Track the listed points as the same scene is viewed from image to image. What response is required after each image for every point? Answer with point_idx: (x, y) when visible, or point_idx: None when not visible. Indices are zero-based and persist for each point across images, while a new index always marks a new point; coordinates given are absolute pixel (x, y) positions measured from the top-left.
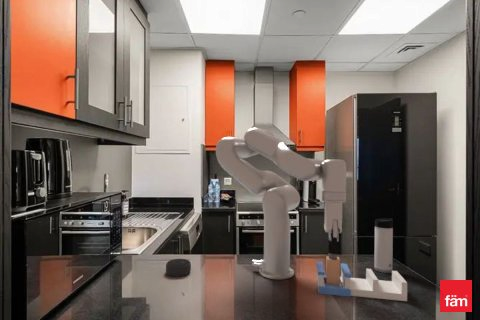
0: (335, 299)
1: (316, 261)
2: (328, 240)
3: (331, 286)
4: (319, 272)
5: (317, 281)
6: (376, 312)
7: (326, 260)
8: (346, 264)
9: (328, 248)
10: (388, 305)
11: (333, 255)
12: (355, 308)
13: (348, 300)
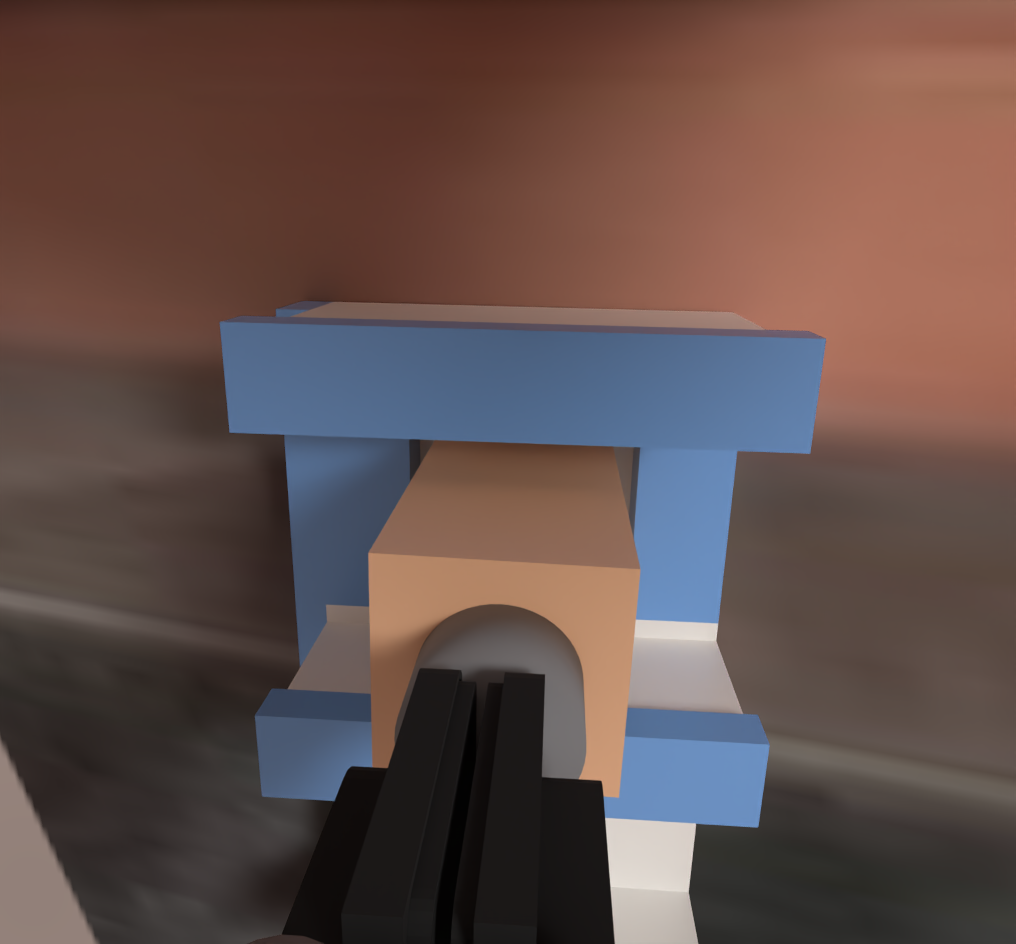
0: (203, 473)
1: (810, 339)
2: (473, 914)
3: (337, 475)
4: (228, 347)
5: (583, 312)
6: (63, 771)
7: (511, 538)
8: (717, 819)
9: (503, 721)
10: (237, 892)
11: (395, 730)
12: (70, 624)
13: (224, 596)
